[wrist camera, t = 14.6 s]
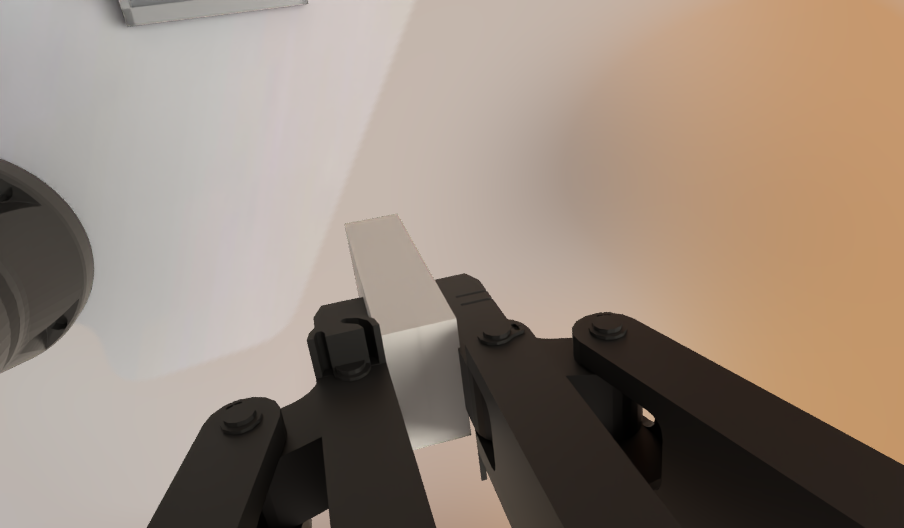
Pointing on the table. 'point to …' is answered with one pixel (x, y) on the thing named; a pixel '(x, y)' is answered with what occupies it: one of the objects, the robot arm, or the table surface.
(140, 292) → the table surface
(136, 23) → the frame
